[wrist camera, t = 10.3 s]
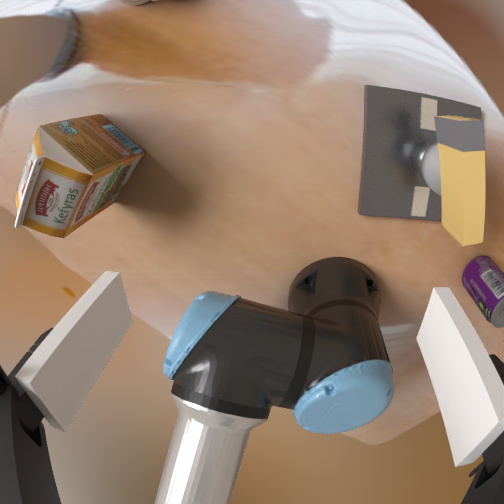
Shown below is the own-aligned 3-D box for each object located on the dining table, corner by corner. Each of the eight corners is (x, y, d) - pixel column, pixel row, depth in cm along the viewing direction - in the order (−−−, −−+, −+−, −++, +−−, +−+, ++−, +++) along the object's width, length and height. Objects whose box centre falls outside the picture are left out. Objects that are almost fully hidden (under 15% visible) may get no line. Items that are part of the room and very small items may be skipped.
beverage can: (454, 285, 46) (482, 329, 35) (469, 250, 43) (503, 289, 32) (481, 290, 46) (509, 331, 35) (496, 257, 42) (530, 294, 32)
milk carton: (115, 202, 47) (40, 255, 31) (73, 165, 45) (-8, 203, 29) (146, 151, 43) (66, 187, 26) (99, 114, 41) (10, 133, 24)
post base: (461, 219, 41) (482, 238, 34) (357, 211, 43) (367, 230, 37) (475, 107, 33) (501, 110, 26) (364, 85, 35) (377, 82, 29)
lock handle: (423, 220, 35) (449, 249, 28) (414, 116, 29) (444, 121, 22) (464, 214, 33) (495, 240, 26) (459, 113, 28) (495, 120, 21)
